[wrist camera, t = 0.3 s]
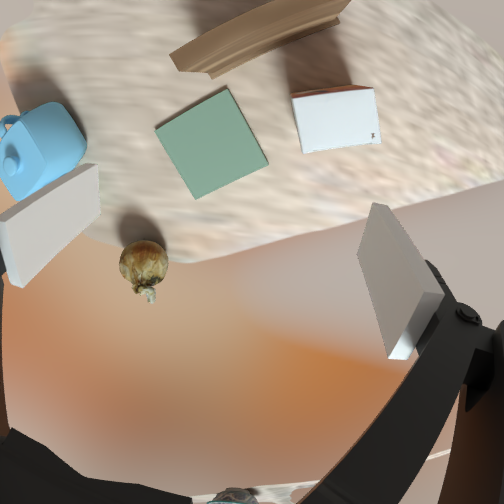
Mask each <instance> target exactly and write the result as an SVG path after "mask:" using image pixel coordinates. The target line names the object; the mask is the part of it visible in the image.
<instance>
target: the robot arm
mask: <svg viewBox="0 0 504 504" xmlns="http://www.w3.org/2000/svg"><path fill="white" fill-rule="evenodd" d="M100 215H101V209H100V197H99V181H98V164H89V163H85V164H83V165H81V166H80V167H78V168H76V169H74V170H72V171H70V172H68V173H67V174H65V175H63V176H61V177H60V178H58V179H56V180H54V181H53V182H51V183H49V184H47V185H46V186H44V187H42V188H41V189H39V190H37V191H36V192H34V193H33V194H31V195H29V196H28V197H26V198H25V199H23V200H21V201H20V202H18V203H17V204H15V205H14V206H12V207H11V208H10V209H8V210H7V211H5V212H3V213H2V214H0V504H193V502H192V498H190V497H186V496H181V495H177V494H173V493H169V492H165V491H161V490H158V489H154V488H151V487H147V486H144V485H140V484H132V483H122V482H114V481H105V480H99V479H92V478H87V477H84V476H82V475H81V474H79V473H78V472H77V471H75V470H74V469H73V468H72V467H70V466H69V465H68V464H66V463H65V462H64V461H63V460H62V459H60V458H59V457H58V456H57V455H55V454H54V453H53V452H52V451H51V450H50V449H48V448H47V447H46V446H44V445H43V444H41V443H39V442H37V441H35V440H33V439H31V438H29V437H28V436H26V435H24V434H22V433H21V432H19V431H17V430H15V429H14V428H11V429H10V427H9V424H8V419H7V412H6V404H5V394H4V383H3V370H2V333H1V332H2V303H3V288H4V283H3V279H2V275H3V273H5V272H6V271H7V274H8V277H9V280H10V283H11V284H12V285H15V286H18V287H21V288H24V286H26V285H27V284H28V283H29V281H30V280H31V279H32V278H33V277H34V276H35V275H36V274H37V273H38V272H39V271H40V270H41V269H42V268H43V267H44V266H45V265H46V264H47V263H48V262H49V261H50V260H51V259H52V258H53V257H55V256H56V255H57V254H58V253H59V252H60V251H61V250H62V249H63V248H64V247H65V246H66V245H67V244H68V243H69V242H71V240H73V239H74V238H75V237H76V236H77V235H78V234H79V233H80V232H82V231H83V230H84V229H85V228H86V227H87V226H88V225H89V224H91V223H92V222H93V221H94V220H95V219H96V218H98V217H99V216H100ZM357 256H358V259H359V262H360V265H361V268H362V271H363V274H364V277H365V281H366V284H367V287H368V290H369V293H370V296H371V300H372V302H373V306H374V310H375V313H376V316H377V320H378V323H379V327H380V331H381V334H382V338H383V342H384V345H385V349H386V353H387V357H388V358H389V359H403V360H408V358H409V357H410V355H411V354H412V352H413V350H414V349H415V347H416V349H417V352H418V354H419V357H418V359H417V360H416V361H415V363H414V365H413V366H412V367H411V369H410V370H409V372H408V373H407V375H406V376H405V377H404V379H403V381H402V382H401V384H400V385H399V387H398V388H397V389H396V391H395V392H394V394H393V395H392V396H391V398H390V399H389V401H388V402H387V403H386V405H385V406H384V407H383V409H382V410H381V411H380V413H379V414H378V415H377V416H376V418H375V419H374V420H373V422H372V423H371V424H370V425H369V427H368V428H367V429H366V430H365V431H364V433H363V434H362V435H361V437H360V438H359V439H358V440H357V441H356V442H355V443H354V445H353V446H352V447H351V448H350V449H349V450H348V451H347V453H346V454H345V455H344V456H343V457H342V458H341V459H340V460H339V462H338V463H337V464H336V465H335V466H334V467H333V468H332V469H331V470H330V471H329V472H328V473H327V474H326V475H325V476H324V477H323V478H322V479H321V480H320V481H319V482H318V483H317V484H316V485H315V486H314V487H313V488H312V489H311V490H310V491H309V492H308V493H307V494H306V495H305V496H304V497H303V498H302V499H301V500H300V501H299V502H298V503H296V504H398V503H399V502H400V500H401V499H402V497H403V496H404V494H405V493H406V491H407V490H408V488H409V487H410V485H411V483H412V482H413V480H414V479H415V477H416V475H417V474H418V472H419V471H420V469H421V467H422V466H423V464H424V462H425V460H426V459H427V457H428V455H429V453H430V451H431V449H432V448H433V446H434V444H435V442H436V440H437V438H438V436H439V434H440V432H441V430H442V428H443V426H444V424H445V422H446V420H447V418H448V416H449V414H450V412H451V409H452V407H453V405H454V403H455V400H456V398H457V396H458V393H459V391H460V395H459V404H458V411H457V419H456V425H455V431H454V437H453V442H452V447H451V452H450V457H449V462H448V466H447V470H446V475H445V478H444V482H443V486H442V490H441V493H440V497H439V501H438V504H504V320H503V321H502V322H501V323H500V324H499V326H498V327H497V329H496V330H492V329H490V328H487V327H485V326H482V320H481V318H480V316H479V315H478V313H477V312H476V311H475V310H474V309H472V308H471V307H470V306H468V305H466V304H464V303H459V302H457V301H456V299H455V298H454V296H453V294H452V292H451V291H450V289H449V288H448V286H447V285H446V283H445V281H444V279H443V278H441V277H442V276H441V275H440V273H439V271H438V270H437V268H436V267H434V265H432V264H431V263H430V262H429V261H428V260H424V259H423V257H422V256H421V254H420V252H419V251H418V249H417V248H416V246H415V245H414V243H413V242H412V240H411V239H410V237H409V236H408V234H407V233H406V231H405V230H404V228H403V227H402V225H401V224H400V222H399V221H398V219H397V218H396V217H395V215H394V214H393V212H392V211H391V210H390V208H389V207H388V206H387V205H383V204H378V203H374V202H373V203H372V206H371V210H370V213H369V217H368V220H367V223H366V227H365V230H364V233H363V237H362V240H361V243H360V246H359V249H358V252H357Z"/></svg>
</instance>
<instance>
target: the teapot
mask: <svg viewBox="0 0 504 504" xmlns="http://www.w3.org/2000/svg"><path fill="white" fill-rule="evenodd" d="M5 124H13V125H12V126H11V128H10V129H9V130H8V131H7V129H6V127H5ZM0 137H1V138H2V140H1V142H0V178H1V180H2V181H3V183H4V184H5V186H6V188H7V189H8V191H9V192H10V194H11V195H12V196H13V198H14V199H15V200H16V201H21V200H23V199H25V198H26V197H28V196H29V195H31V194H33V193H34V192H36V191H37V190H39V189H41V188H42V187H44V186H46V185H47V184H49V183H51V182H53V181H54V180H56V179H58V178H60V177H61V176H63V175H65V174H67V173H68V172H70V171H72V170H73V169H74V168H75V166H76V165H77V164H78V162H79V161H80V159H81V158H82V157H83V155H84V153H85V151H86V149H87V143H86V141H85V139H84V137H83V135H82V133H81V132H80V130H79V128H78V127H77V125H76V123H75V122H74V120H73V119H72V117H71V116H70V114H69V113H68V112H67V110H66V109H65V108H64V106H63V105H62V104H60V103H57V102H49V103H46V104H43V105H41V106H39V107H37V108H35V109H33V110H31V111H24V112H22V113H21V115H20V116H15V115H7V116H5V117H4V118H2V120H1V121H0Z"/></svg>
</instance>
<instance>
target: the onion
mask: <svg viewBox="0 0 504 504" xmlns="http://www.w3.org/2000/svg"><path fill="white" fill-rule="evenodd" d="M119 266H120V272H121V274H122V276H123V277H124V278H125V279H126V280H128V281H130V282H131V283H132V284H133V287H132V289H133V290H134V292H135V293H136V294H137V293H140V296H141V295H142V294H145V293H146V296H147V299H148V302H150V303H151V304H153V303H154V302H155V298H156V297H155V294H156V292H155V289H154V288H153V287H151V286H154V285H156V284H158V283H159V282H161V281H162V280H163V279H164V277H165V274H166V271H167V268H168V256H167V254H166V252H165V251H164V249H163V248H162V247H161V246H160V245H158V244H157V243H155V242H153V241H147V240H144V241H143V240H141V241H136V242H133V243H131V244H129V245H128V246H127V247H126V248H125V249H124V250H123V252H122V254H121V257H120V262H119Z"/></svg>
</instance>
